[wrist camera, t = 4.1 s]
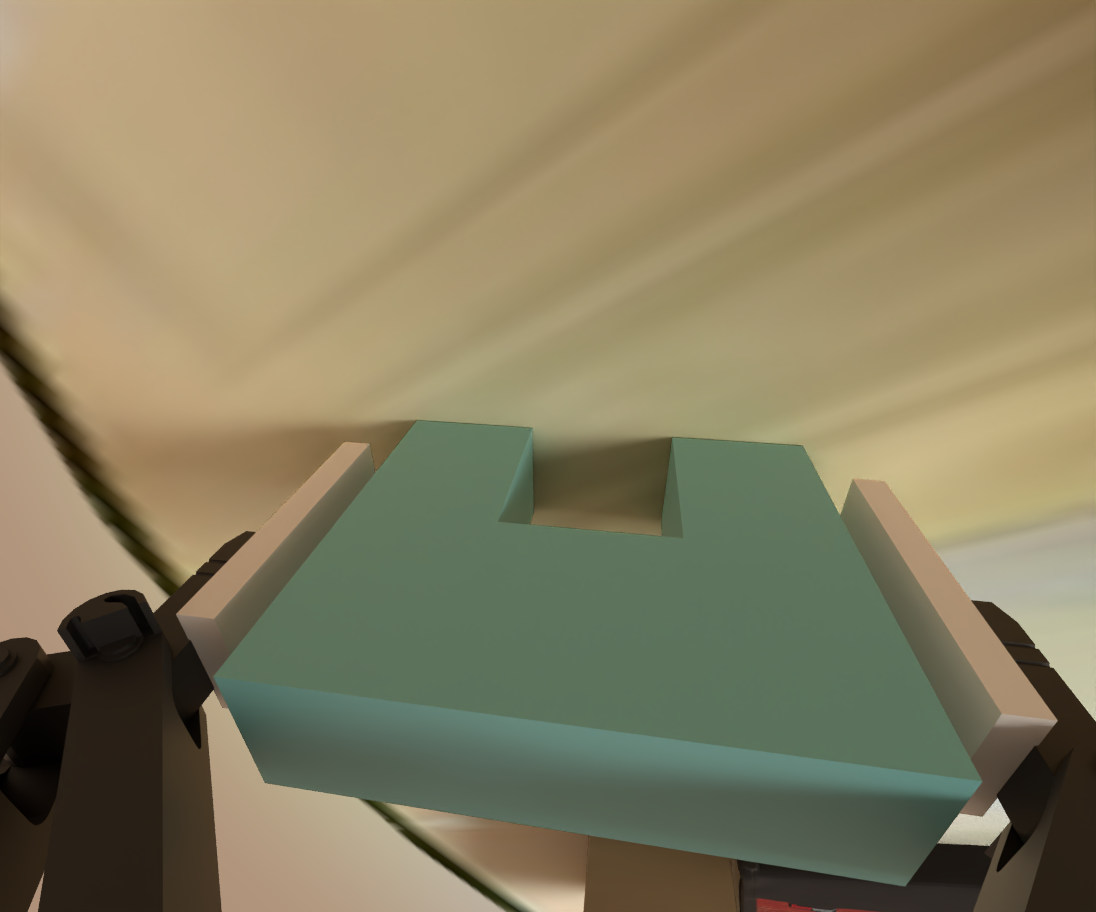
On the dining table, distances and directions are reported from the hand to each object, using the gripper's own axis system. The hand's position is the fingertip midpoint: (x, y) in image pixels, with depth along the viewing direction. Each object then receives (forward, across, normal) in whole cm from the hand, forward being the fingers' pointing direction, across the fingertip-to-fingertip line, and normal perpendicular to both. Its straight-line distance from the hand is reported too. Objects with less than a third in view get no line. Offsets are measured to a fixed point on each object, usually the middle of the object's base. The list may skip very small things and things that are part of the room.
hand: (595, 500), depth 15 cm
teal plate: (+1, 0, 0) cm, 1 cm away
